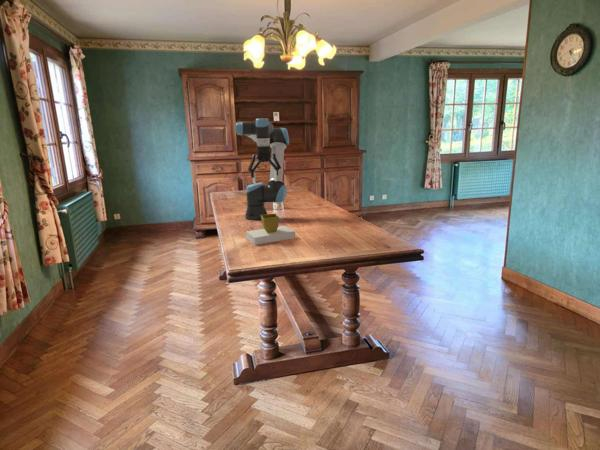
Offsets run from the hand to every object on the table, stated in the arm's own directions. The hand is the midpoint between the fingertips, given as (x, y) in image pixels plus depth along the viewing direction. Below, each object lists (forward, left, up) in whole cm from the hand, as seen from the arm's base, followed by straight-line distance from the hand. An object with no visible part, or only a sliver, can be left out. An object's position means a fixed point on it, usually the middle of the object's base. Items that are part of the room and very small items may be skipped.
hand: (265, 182), depth 230 cm
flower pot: (+20, -6, -25) cm, 32 cm away
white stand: (+20, -6, -29) cm, 35 cm away
